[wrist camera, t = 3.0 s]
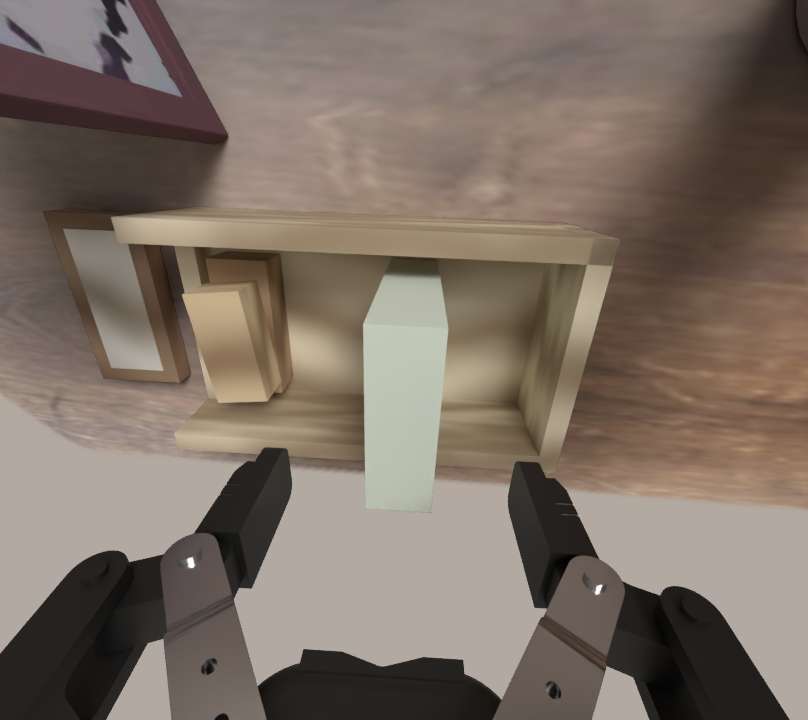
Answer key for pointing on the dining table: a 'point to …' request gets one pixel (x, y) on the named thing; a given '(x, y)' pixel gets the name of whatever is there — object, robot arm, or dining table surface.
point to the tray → (349, 305)
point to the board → (120, 297)
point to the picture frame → (101, 69)
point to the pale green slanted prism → (403, 386)
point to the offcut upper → (234, 340)
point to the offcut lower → (272, 296)
